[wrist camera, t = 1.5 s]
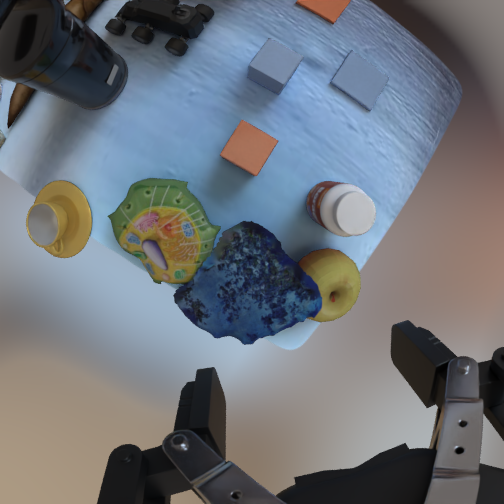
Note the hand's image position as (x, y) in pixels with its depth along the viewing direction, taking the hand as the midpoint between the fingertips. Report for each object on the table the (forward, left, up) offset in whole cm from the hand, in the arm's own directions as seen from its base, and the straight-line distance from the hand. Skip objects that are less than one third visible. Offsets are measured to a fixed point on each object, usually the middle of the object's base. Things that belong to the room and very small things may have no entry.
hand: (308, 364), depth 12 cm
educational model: (-5, -11, -25) cm, 28 cm away
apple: (+10, -1, -30) cm, 31 cm away
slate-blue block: (-10, +20, -30) cm, 38 cm away
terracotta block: (-7, +9, -30) cm, 32 cm away
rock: (+1, -6, -19) cm, 20 cm away
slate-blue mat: (+1, +27, -30) cm, 41 cm away
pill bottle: (+6, +8, -30) cm, 32 cm away
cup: (-27, -13, -30) cm, 43 cm away
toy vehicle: (-29, +20, -30) cm, 46 cm away
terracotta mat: (-10, +37, -30) cm, 49 cm away
